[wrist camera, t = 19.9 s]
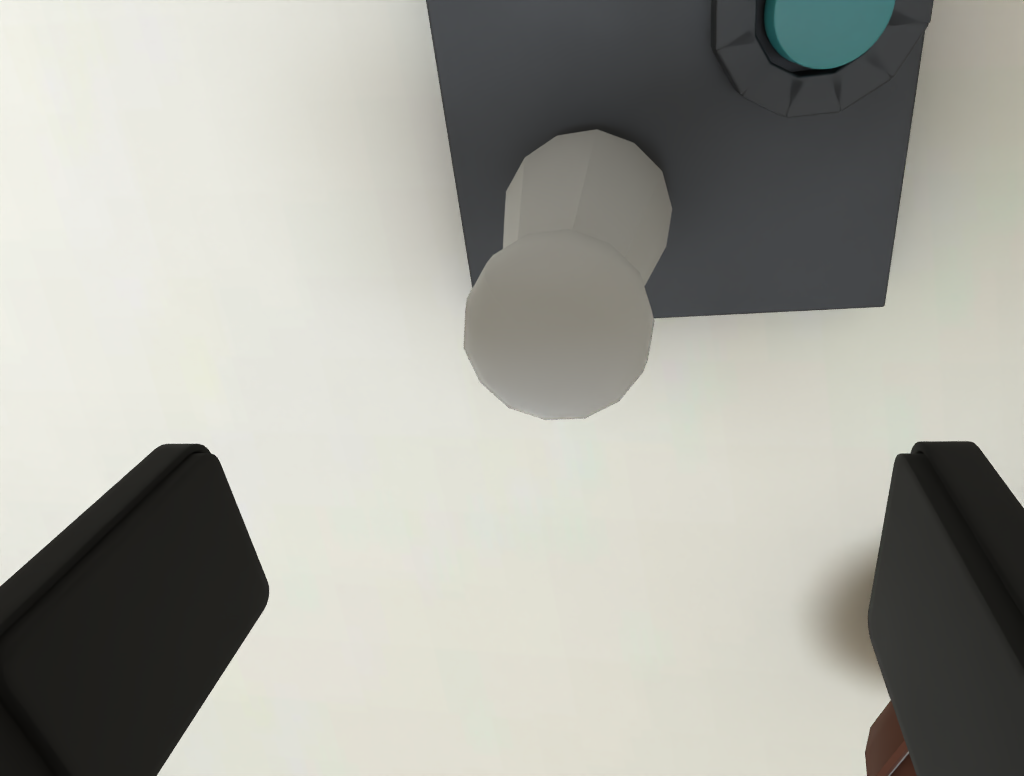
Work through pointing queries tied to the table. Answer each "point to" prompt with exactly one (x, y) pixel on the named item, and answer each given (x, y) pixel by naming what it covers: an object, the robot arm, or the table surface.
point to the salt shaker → (570, 278)
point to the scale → (694, 138)
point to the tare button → (825, 29)
